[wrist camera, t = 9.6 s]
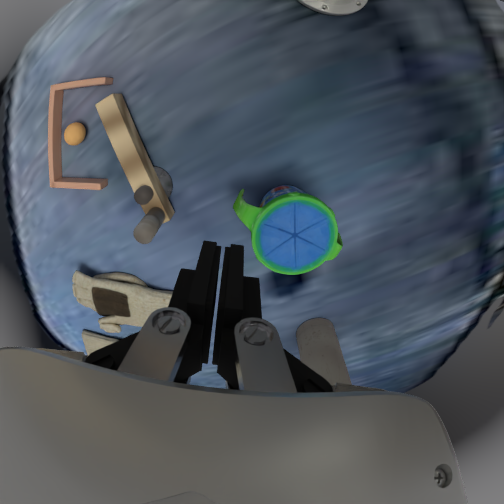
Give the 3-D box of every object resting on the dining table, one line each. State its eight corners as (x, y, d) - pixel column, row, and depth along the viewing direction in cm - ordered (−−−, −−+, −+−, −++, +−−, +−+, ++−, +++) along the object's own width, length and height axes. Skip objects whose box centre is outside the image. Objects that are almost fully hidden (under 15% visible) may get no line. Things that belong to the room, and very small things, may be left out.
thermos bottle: (314, 348, 57) (338, 466, 33) (287, 335, 55) (306, 465, 31) (341, 327, 54) (378, 448, 30) (315, 311, 52) (349, 447, 27)
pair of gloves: (78, 254, 45) (65, 270, 40) (204, 293, 50) (200, 313, 45) (87, 349, 59) (80, 364, 54) (179, 378, 64) (176, 395, 59)
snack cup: (344, 206, 41) (369, 235, 32) (305, 256, 45) (319, 295, 37) (259, 151, 37) (263, 166, 28) (222, 211, 41) (215, 242, 32)
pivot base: (136, 164, 37) (135, 165, 37) (173, 167, 38) (173, 168, 37) (135, 202, 40) (134, 202, 40) (171, 205, 41) (171, 206, 40)
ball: (59, 124, 30) (74, 124, 29) (75, 121, 33) (90, 120, 32) (59, 147, 31) (74, 147, 31) (75, 142, 35) (89, 143, 34)
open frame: (59, 85, 29) (50, 85, 27) (113, 78, 30) (105, 77, 28) (58, 182, 37) (50, 187, 35) (107, 185, 38) (100, 189, 36)
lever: (105, 103, 31) (71, 107, 23) (121, 93, 31) (90, 93, 23) (158, 219, 41) (138, 247, 33) (174, 212, 40) (158, 240, 32)
